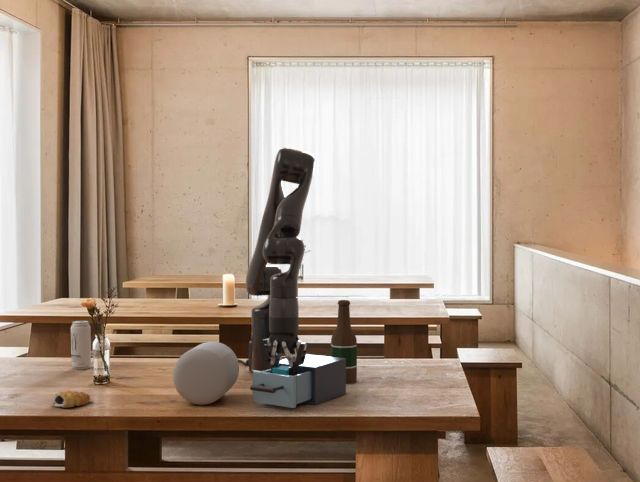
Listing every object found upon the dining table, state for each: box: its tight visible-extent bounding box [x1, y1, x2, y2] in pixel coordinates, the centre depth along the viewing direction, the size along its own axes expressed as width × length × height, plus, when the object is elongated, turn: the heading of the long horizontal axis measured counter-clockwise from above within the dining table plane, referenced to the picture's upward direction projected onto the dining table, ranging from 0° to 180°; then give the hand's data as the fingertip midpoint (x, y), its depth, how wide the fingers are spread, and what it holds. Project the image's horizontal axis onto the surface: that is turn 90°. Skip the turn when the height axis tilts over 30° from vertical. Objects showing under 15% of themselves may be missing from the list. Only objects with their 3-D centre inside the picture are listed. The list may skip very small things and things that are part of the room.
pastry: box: [51, 390, 91, 409], centre depth 214 cm, size 9×7×4 cm
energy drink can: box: [70, 320, 92, 371], centre depth 264 cm, size 6×6×15 cm
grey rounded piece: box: [159, 341, 240, 406], centre depth 223 cm, size 19×15×25 cm
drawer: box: [249, 369, 313, 409], centre depth 213 cm, size 20×13×8 cm, turn 149°
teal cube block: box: [272, 366, 289, 375], centre depth 214 cm, size 4×4×4 cm
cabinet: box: [278, 353, 347, 405], centre depth 224 cm, size 16×14×10 cm
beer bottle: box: [330, 299, 358, 385], centre depth 243 cm, size 8×8×24 cm
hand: (284, 379), depth 214 cm, fingers closed on teal cube block, 4 cm apart
